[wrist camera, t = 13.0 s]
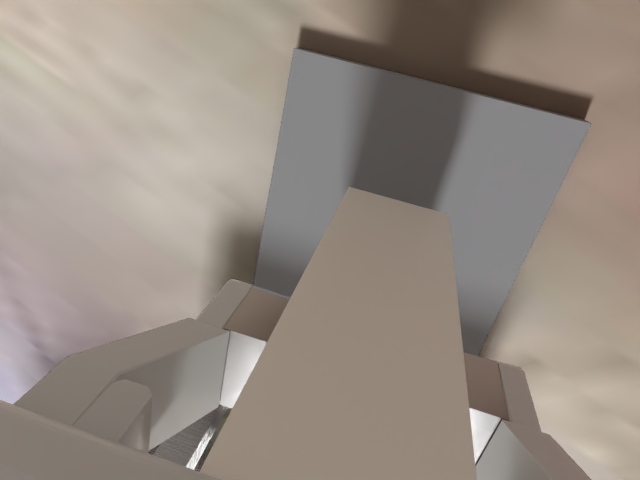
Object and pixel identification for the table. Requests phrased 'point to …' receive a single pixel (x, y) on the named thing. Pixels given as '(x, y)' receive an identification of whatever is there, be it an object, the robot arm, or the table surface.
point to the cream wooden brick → (360, 360)
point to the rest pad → (414, 172)
